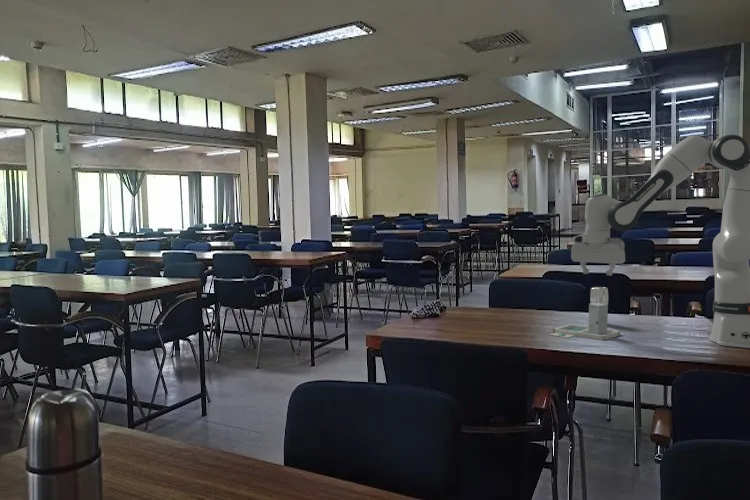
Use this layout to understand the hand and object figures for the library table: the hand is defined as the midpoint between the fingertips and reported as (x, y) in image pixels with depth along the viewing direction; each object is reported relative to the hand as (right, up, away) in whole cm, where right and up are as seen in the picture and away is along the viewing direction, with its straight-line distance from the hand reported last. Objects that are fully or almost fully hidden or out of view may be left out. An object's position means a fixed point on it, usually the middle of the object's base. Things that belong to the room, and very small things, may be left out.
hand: (597, 274), depth 223 cm
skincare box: (+1, -23, +1) cm, 24 cm away
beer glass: (+10, -22, +23) cm, 33 cm away
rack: (-4, -23, +4) cm, 24 cm away
